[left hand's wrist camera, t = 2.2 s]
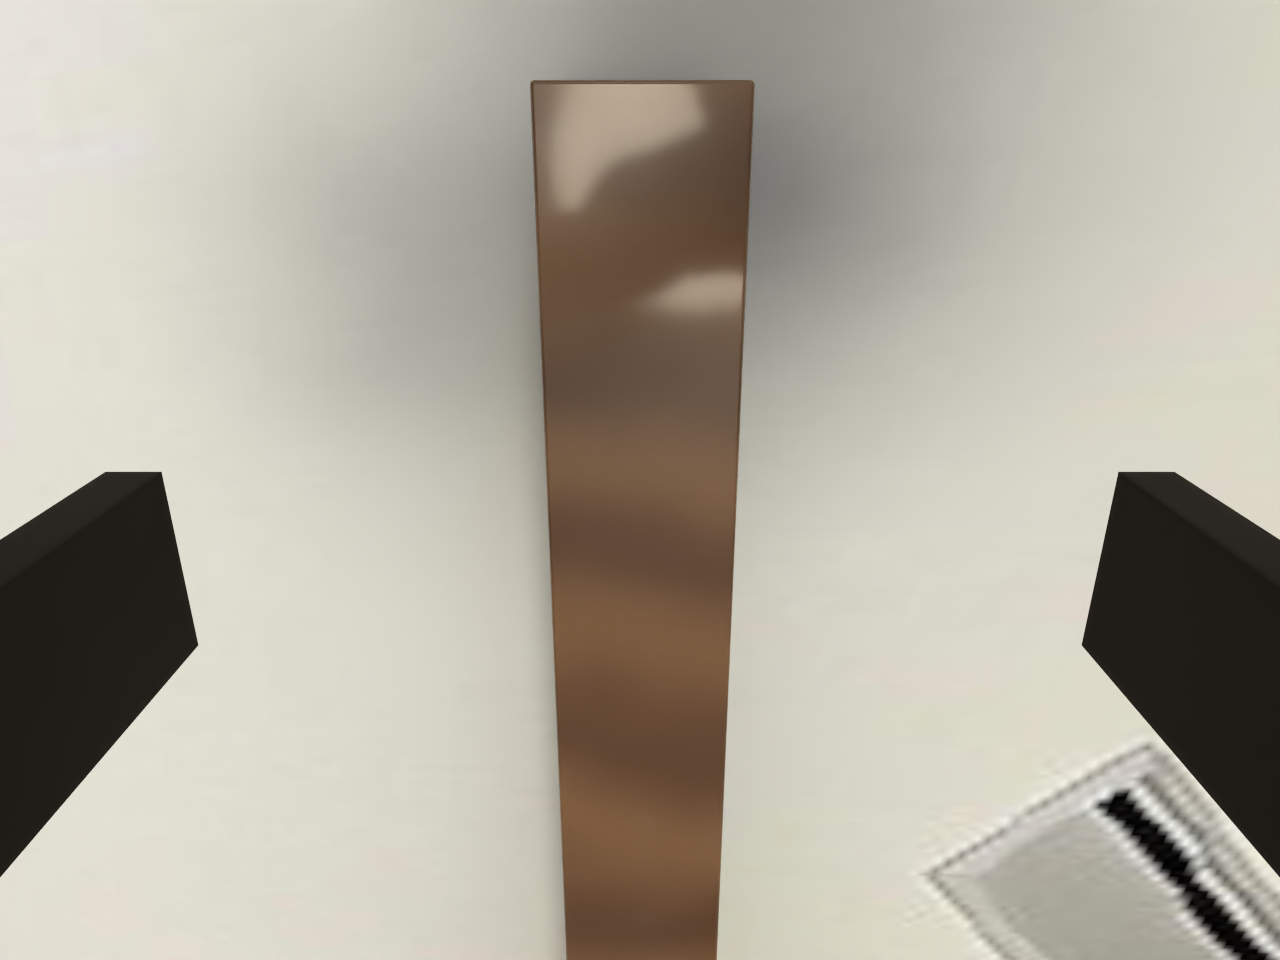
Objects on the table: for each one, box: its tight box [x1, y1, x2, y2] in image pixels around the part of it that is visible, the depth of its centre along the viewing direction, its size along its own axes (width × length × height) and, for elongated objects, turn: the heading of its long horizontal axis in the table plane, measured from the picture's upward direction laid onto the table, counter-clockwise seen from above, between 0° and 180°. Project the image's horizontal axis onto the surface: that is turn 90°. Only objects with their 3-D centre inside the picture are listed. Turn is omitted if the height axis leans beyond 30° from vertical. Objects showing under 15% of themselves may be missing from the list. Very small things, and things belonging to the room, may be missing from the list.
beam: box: [530, 80, 755, 960], centre depth 37 cm, size 63×5×9 cm, turn 0°
